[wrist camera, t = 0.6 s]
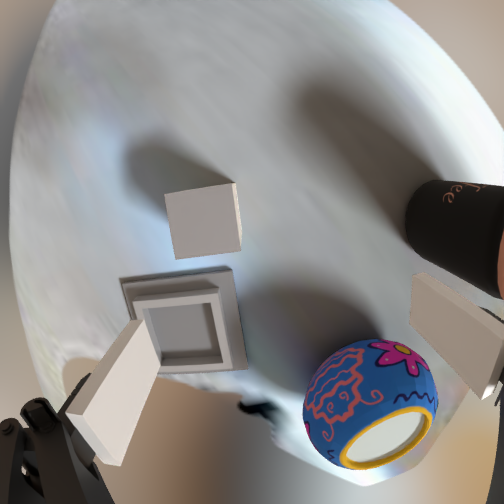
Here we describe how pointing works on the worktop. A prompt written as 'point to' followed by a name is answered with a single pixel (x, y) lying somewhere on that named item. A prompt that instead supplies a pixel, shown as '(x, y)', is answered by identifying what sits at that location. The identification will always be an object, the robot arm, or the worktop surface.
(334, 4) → the worktop surface
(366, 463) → the ceramic pot
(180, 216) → the plug block
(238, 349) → the socket plate
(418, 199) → the coffee jar
